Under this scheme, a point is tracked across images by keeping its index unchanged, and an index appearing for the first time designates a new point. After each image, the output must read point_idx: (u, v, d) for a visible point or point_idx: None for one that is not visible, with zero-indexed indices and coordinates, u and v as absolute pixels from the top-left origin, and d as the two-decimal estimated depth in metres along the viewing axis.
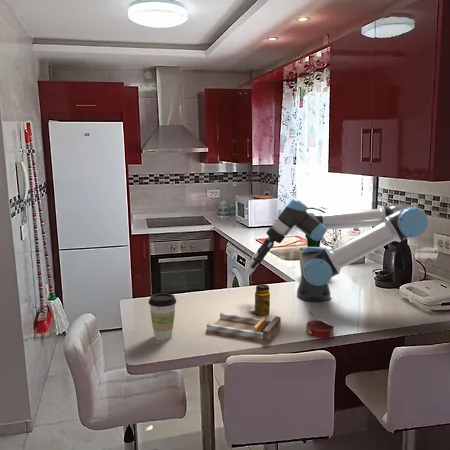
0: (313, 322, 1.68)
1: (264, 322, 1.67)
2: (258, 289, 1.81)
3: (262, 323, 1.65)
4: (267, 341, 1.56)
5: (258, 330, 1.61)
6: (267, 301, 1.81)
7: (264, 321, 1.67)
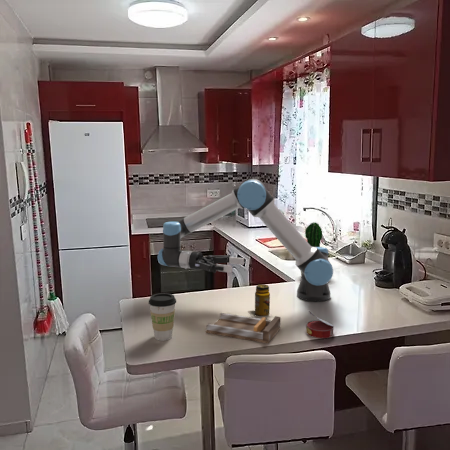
0: (313, 322, 1.68)
1: (264, 322, 1.67)
2: (258, 289, 1.81)
3: (262, 323, 1.65)
4: (267, 341, 1.56)
5: (258, 330, 1.61)
6: (267, 301, 1.81)
7: (264, 321, 1.67)
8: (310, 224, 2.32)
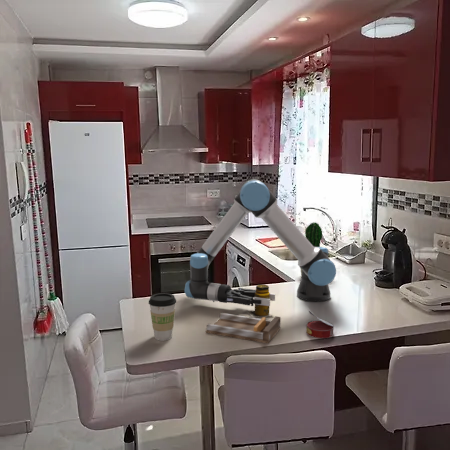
0: (313, 322, 1.68)
1: (264, 322, 1.67)
2: (258, 289, 1.80)
3: (262, 323, 1.65)
4: (267, 341, 1.56)
5: (258, 330, 1.61)
6: None
7: (264, 321, 1.67)
8: (310, 224, 2.32)
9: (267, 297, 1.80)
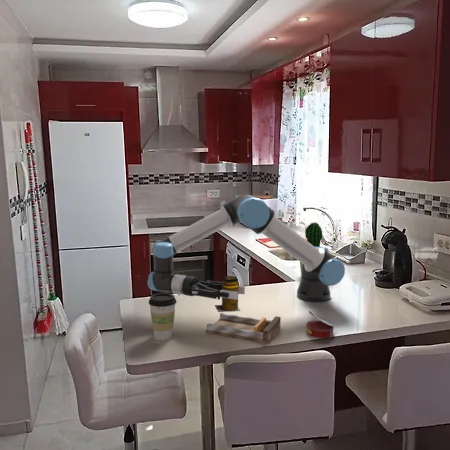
0: (313, 322, 1.68)
1: (264, 322, 1.67)
2: (225, 281, 1.64)
3: (262, 323, 1.65)
4: (267, 341, 1.56)
5: (258, 330, 1.61)
6: None
7: (264, 321, 1.67)
8: (310, 224, 2.32)
9: (235, 290, 1.65)
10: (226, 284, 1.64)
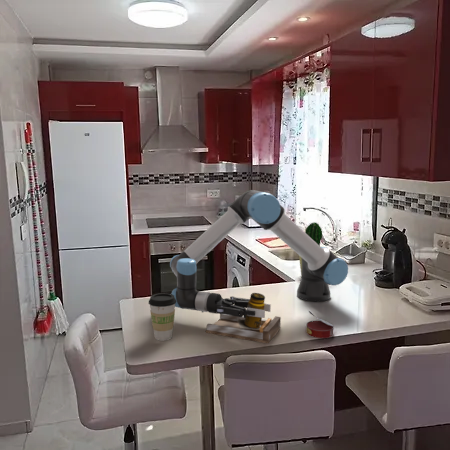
0: (313, 322, 1.68)
1: None
2: (252, 298, 1.61)
3: None
4: (267, 341, 1.56)
5: None
6: None
7: None
8: (310, 224, 2.32)
9: (261, 308, 1.62)
10: (253, 301, 1.61)
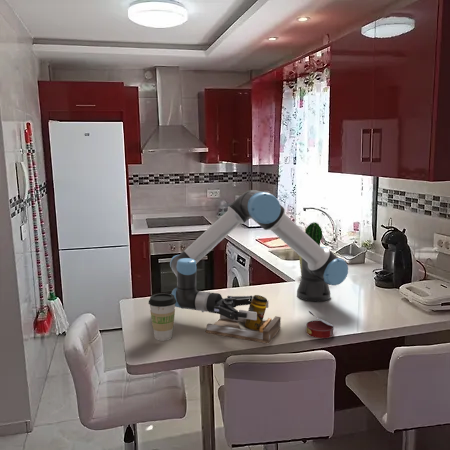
0: (313, 322, 1.68)
1: None
2: (255, 299, 1.62)
3: None
4: (267, 341, 1.56)
5: None
6: (261, 315, 1.62)
7: None
8: (310, 224, 2.32)
9: (262, 311, 1.62)
10: (255, 303, 1.62)
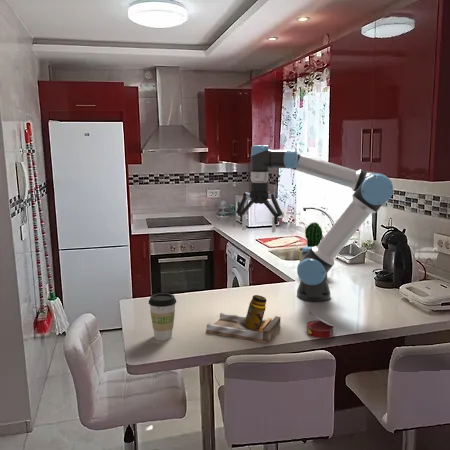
0: (313, 322, 1.68)
1: None
2: (254, 299, 1.62)
3: None
4: (267, 341, 1.56)
5: None
6: (260, 315, 1.62)
7: None
8: (310, 224, 2.32)
9: (262, 311, 1.62)
10: (254, 303, 1.62)
